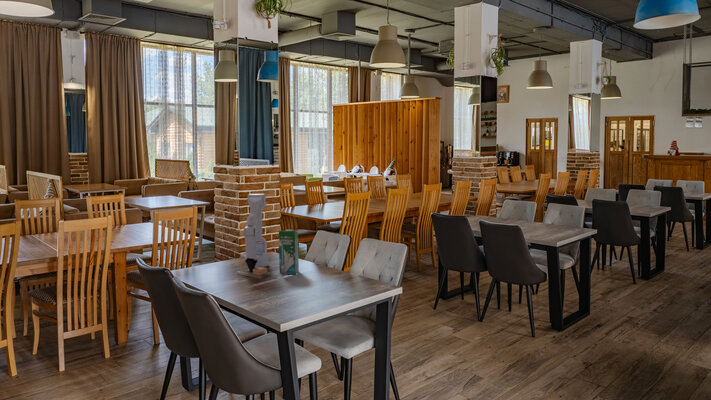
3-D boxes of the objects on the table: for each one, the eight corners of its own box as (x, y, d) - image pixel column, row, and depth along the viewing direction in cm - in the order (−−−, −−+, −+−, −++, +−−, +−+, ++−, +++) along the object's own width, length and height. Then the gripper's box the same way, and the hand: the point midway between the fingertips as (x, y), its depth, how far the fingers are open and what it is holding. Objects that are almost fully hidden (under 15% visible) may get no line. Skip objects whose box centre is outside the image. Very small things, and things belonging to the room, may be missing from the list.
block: (261, 274, 297) (261, 266, 297) (267, 275, 294) (267, 268, 294) (253, 276, 292) (252, 269, 292) (259, 277, 289) (259, 270, 289)
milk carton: (298, 271, 308) (297, 228, 305) (295, 275, 299) (294, 230, 296) (283, 271, 309) (282, 228, 306) (279, 274, 300) (278, 230, 297)
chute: (250, 272, 306) (250, 268, 306) (272, 276, 295) (272, 272, 295) (235, 276, 297) (235, 272, 297) (258, 281, 287) (257, 276, 286)
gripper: (236, 247, 297) (237, 271, 298) (254, 250, 288) (255, 275, 290) (246, 245, 302) (246, 269, 304) (264, 248, 294) (265, 272, 295)
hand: (251, 272), depth 297 cm, fingers closed
